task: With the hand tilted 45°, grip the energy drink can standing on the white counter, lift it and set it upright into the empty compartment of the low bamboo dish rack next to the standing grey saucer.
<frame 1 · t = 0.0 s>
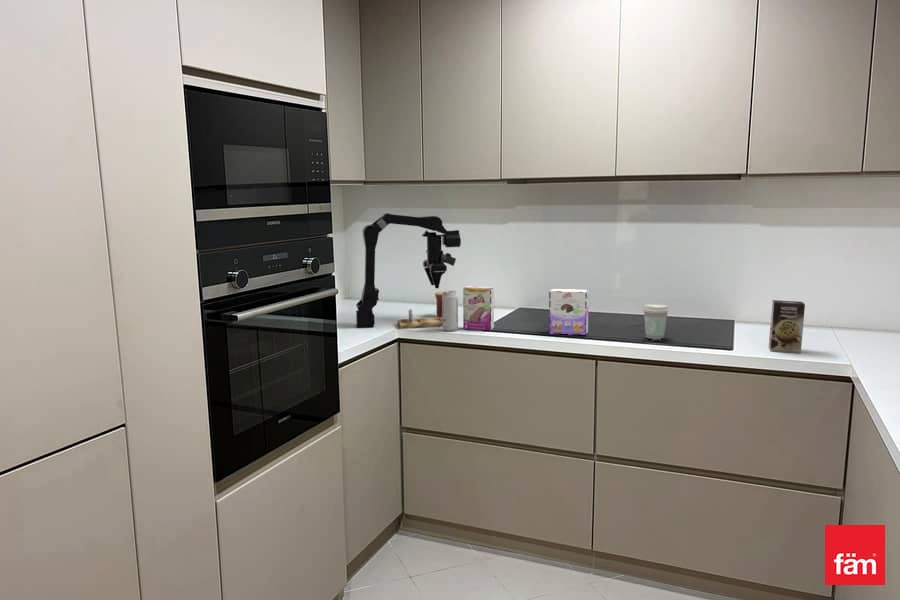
hand: (434, 286, 265), 15 cm above the worktop, tool pointing down, fingers open, 9 cm apart
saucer: (410, 325, 261), resting on rack
rack: (421, 325, 262), on the worktop
energy drink can: (450, 330, 252), on the worktop
brown cookie box: (784, 351, 216), on the worktop
candy bar box: (478, 329, 253), on the worktop
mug: (446, 318, 277), on the worktop
candy box: (568, 334, 244), on the worktop
coffee cup: (654, 339, 234), on the worktop
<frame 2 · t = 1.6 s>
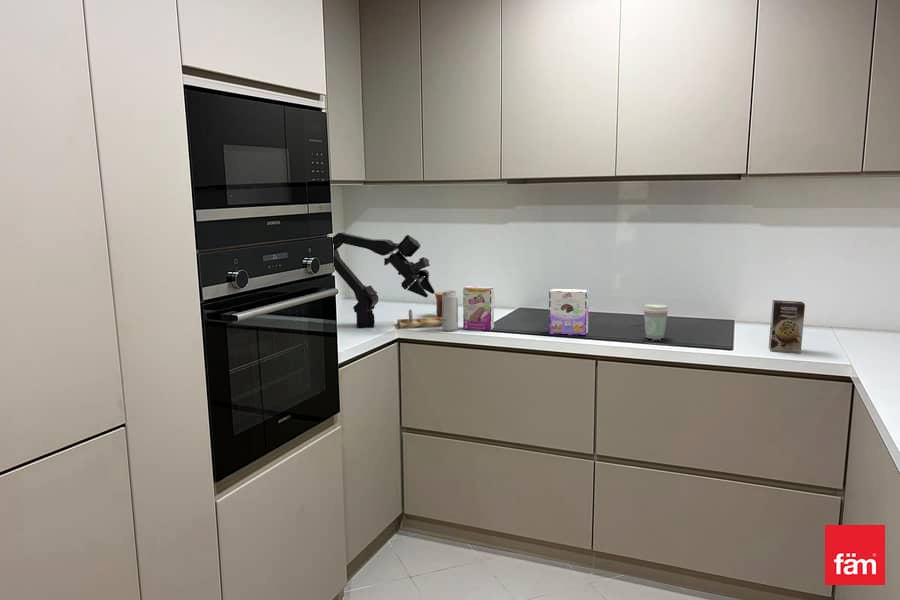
hand: (430, 294, 252), 13 cm above the worktop, tool tilted 45°, fingers open, 9 cm apart
nothing on the worktop moved.
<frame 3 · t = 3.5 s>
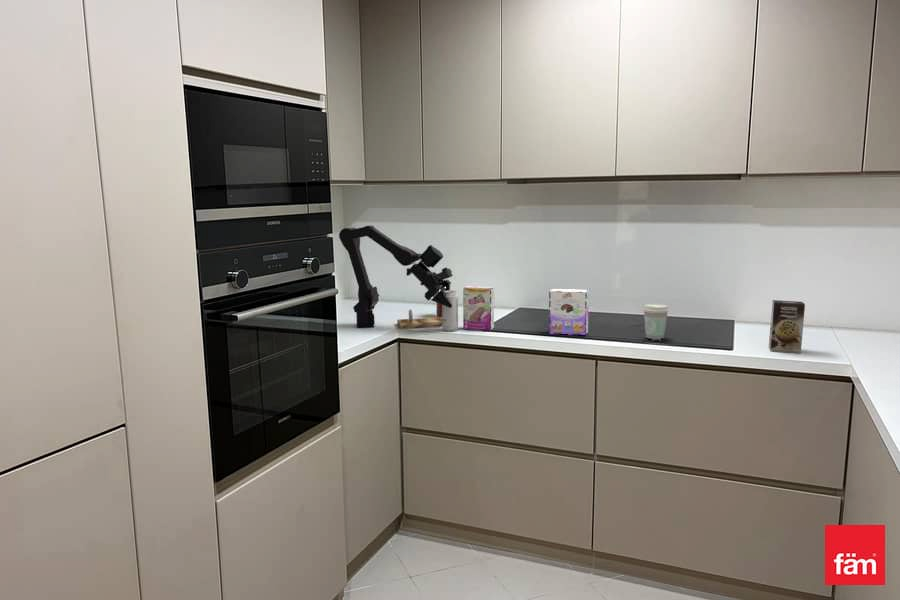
hand: (453, 305, 250), 10 cm above the worktop, tool tilted 45°, fingers closed on energy drink can, 6 cm apart
energy drink can: (450, 330, 252), on the worktop, touching gripper
everything else where it was.
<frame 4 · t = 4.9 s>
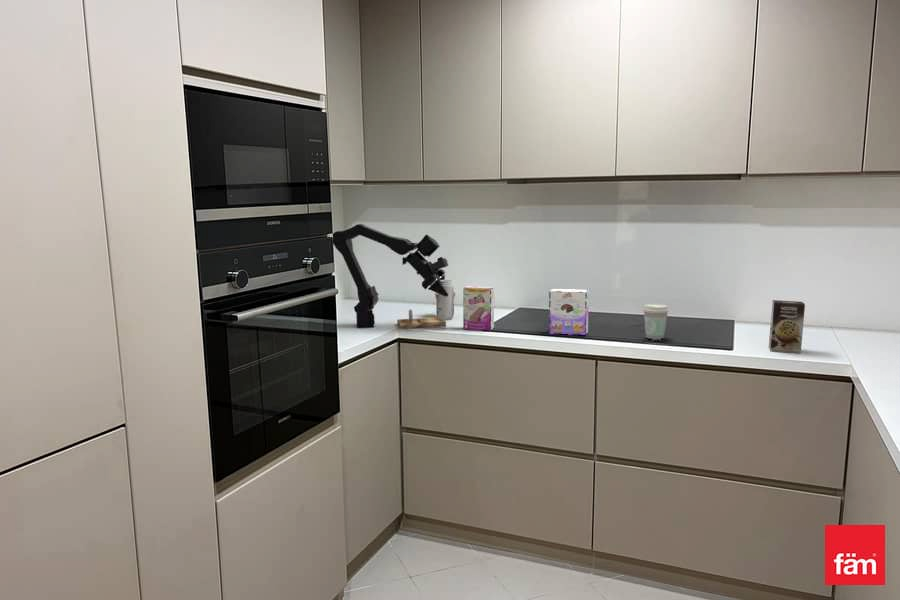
hand: (449, 294, 253), 13 cm above the worktop, tool tilted 45°, fingers closed on energy drink can, 6 cm apart
energy drink can: (445, 319, 255), point 4 cm above the worktop, touching gripper
everything else where it was.
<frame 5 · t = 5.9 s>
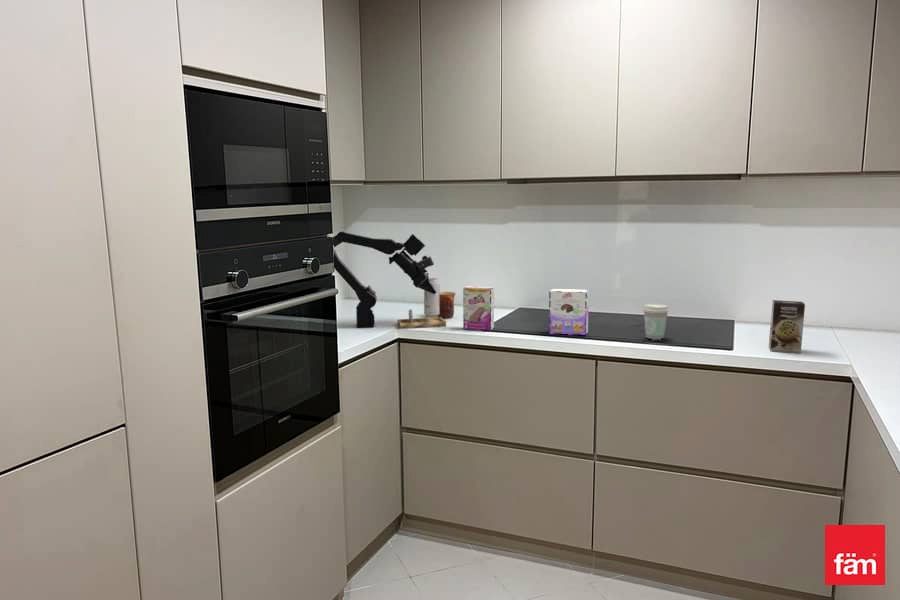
hand: (435, 292, 260), 13 cm above the worktop, tool tilted 45°, fingers closed on energy drink can, 6 cm apart
energy drink can: (431, 316, 262), point 3 cm above the worktop, touching gripper
everything else where it was.
when the fingers open (12 cm above the worktop, at t = 6.7 s): energy drink can stays where it is, resting on rack.
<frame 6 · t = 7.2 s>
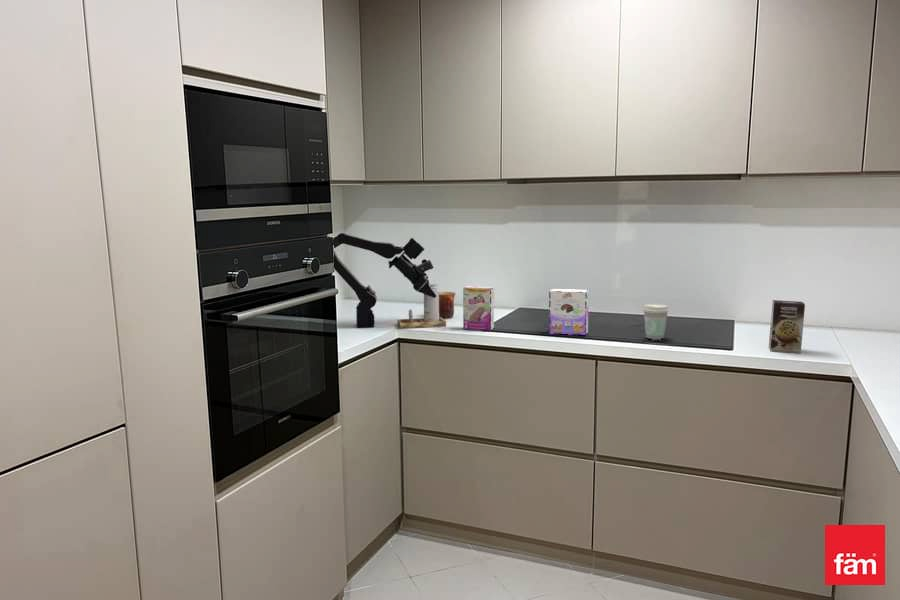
hand: (435, 295, 261), 12 cm above the worktop, tool tilted 45°, fingers open, 9 cm apart
energy drink can: (431, 322, 263), point 1 cm above the worktop, touching rack
everything else where it was.
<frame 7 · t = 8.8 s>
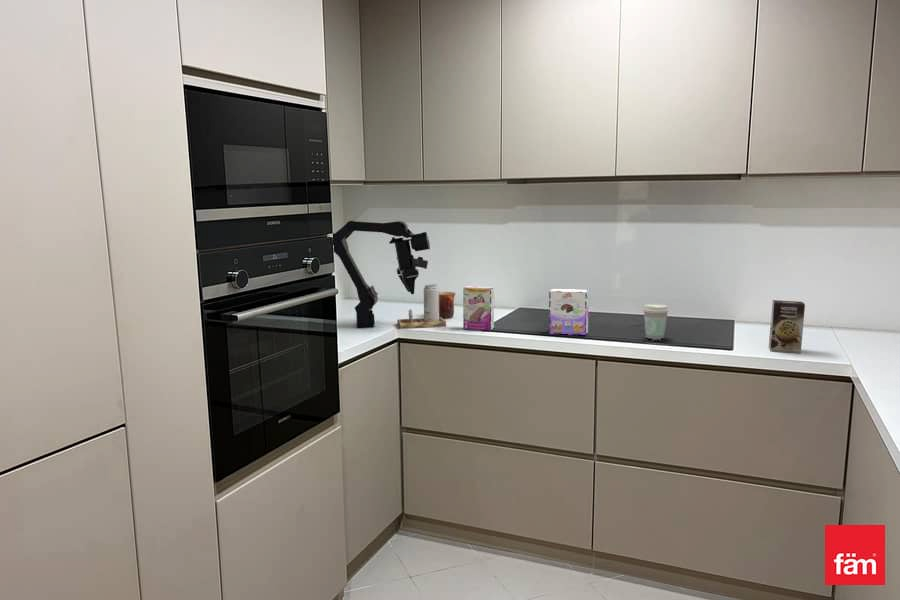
hand: (411, 292, 257), 13 cm above the worktop, tool pointing down, fingers open, 9 cm apart
nothing on the worktop moved.
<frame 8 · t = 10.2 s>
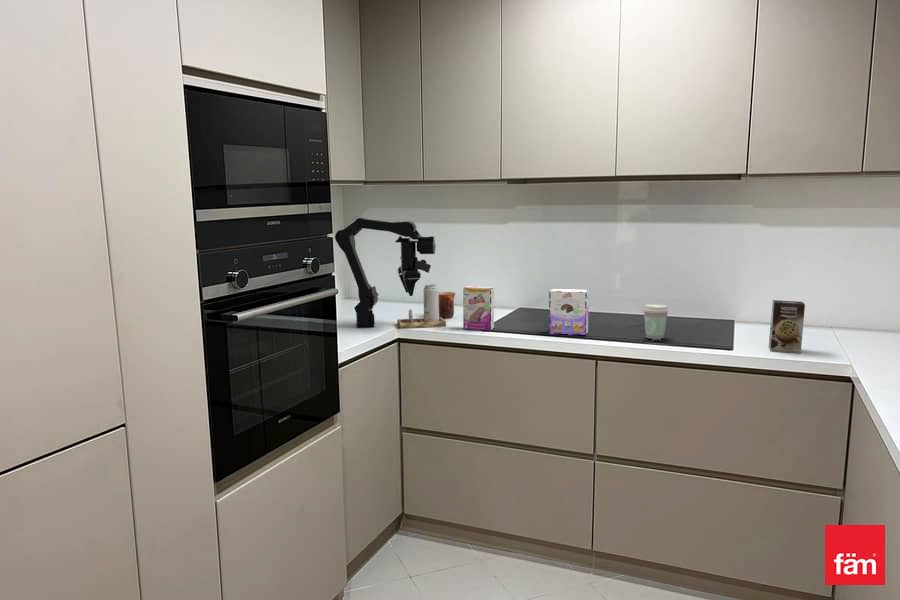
hand: (409, 294, 257), 13 cm above the worktop, tool pointing down, fingers open, 9 cm apart
nothing on the worktop moved.
at the end: energy drink can inside the target area on the rack (0.3 cm from its centre), point 0.8 cm above the rack's base; energy drink can tilted 0°; the gripper is holding nothing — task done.
